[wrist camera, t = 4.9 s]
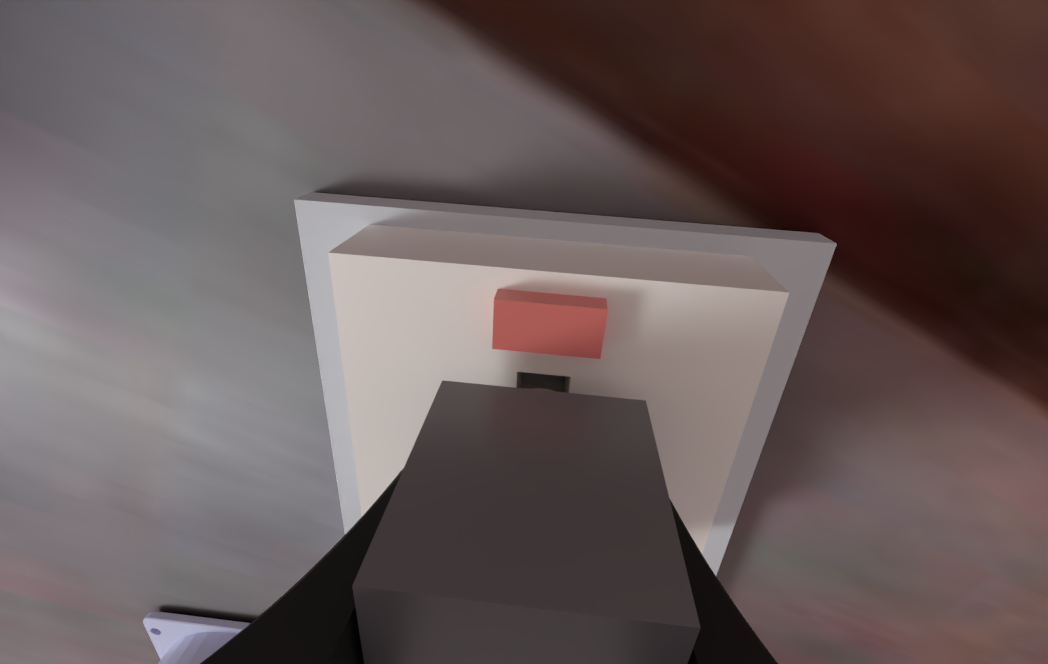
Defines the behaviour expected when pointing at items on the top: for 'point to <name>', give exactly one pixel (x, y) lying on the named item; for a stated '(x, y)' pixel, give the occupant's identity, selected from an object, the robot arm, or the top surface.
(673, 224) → the socket mat
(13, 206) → the top surface
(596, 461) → the plug
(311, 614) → the robot arm
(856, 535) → the top surface
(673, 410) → the socket plate
